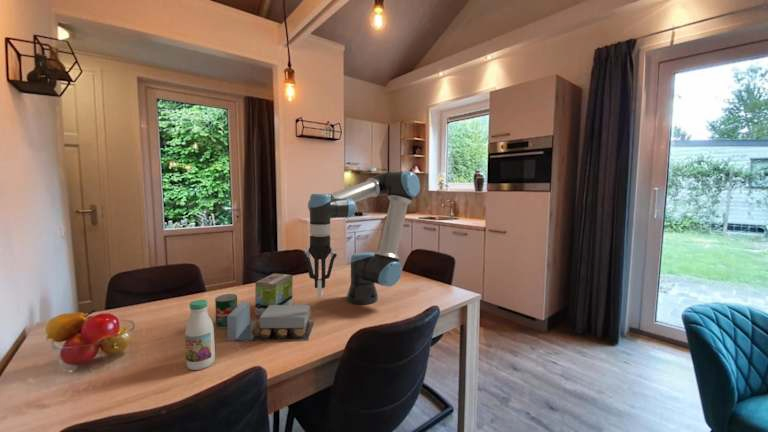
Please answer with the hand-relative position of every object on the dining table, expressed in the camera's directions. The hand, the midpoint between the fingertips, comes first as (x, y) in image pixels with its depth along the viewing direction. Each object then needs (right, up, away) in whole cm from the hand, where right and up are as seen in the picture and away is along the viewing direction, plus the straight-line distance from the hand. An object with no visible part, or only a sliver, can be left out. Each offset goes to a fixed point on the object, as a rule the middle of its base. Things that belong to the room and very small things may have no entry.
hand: (320, 296), depth 123 cm
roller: (-24, -11, 0) cm, 26 cm away
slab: (-13, -10, 0) cm, 16 cm away
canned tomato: (-38, -13, +6) cm, 41 cm away
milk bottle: (-33, -16, -23) cm, 43 cm away
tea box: (-24, -12, +21) cm, 34 cm away
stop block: (-30, -13, -1) cm, 33 cm away
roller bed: (-16, -14, 0) cm, 21 cm away
